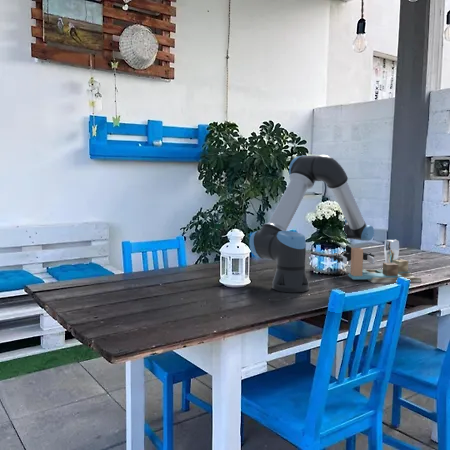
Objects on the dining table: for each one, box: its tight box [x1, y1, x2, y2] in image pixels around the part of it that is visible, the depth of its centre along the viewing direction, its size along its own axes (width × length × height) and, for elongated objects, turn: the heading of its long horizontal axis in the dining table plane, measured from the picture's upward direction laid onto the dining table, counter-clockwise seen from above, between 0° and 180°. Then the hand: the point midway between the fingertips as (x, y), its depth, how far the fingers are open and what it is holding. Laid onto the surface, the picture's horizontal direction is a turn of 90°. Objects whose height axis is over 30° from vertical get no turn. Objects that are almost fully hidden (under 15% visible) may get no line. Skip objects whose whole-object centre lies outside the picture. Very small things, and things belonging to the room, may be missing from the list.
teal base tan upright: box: [348, 247, 402, 280], centre depth 210 cm, size 22×7×13 cm, turn 93°
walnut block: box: [382, 262, 398, 276], centre depth 211 cm, size 5×5×5 cm
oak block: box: [392, 258, 409, 272], centre depth 220 cm, size 5×5×5 cm
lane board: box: [362, 268, 422, 284], centre depth 216 cm, size 22×19×2 cm
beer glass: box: [383, 239, 400, 263], centre depth 231 cm, size 7×7×15 cm
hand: (359, 260), depth 206 cm, fingers open, 11 cm apart
